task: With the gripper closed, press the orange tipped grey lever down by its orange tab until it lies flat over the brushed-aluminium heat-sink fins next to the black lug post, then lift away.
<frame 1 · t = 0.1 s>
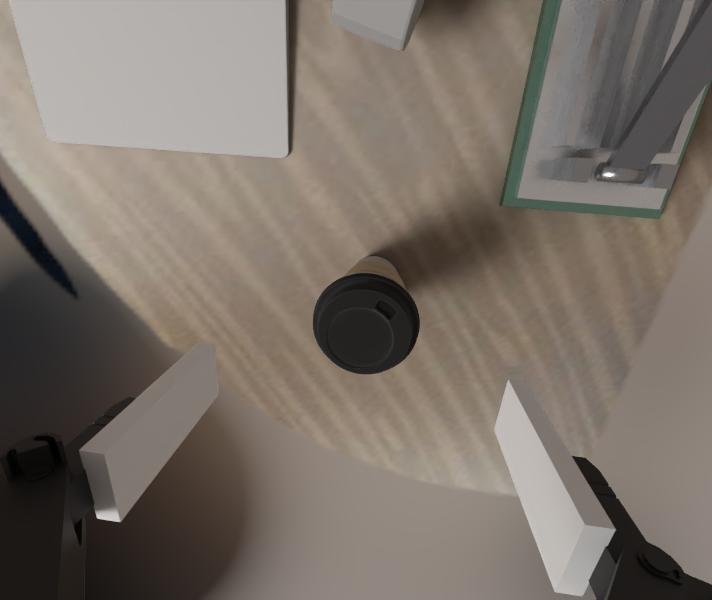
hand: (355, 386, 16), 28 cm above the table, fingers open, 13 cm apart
orange tipped grey lever: (697, 57, 24), point 11 cm above the table, hinge at 30.0°
heatsink: (615, 71, 33), on the table
coffee cup: (373, 279, 44), on the table
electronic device: (158, 48, 37), on the table
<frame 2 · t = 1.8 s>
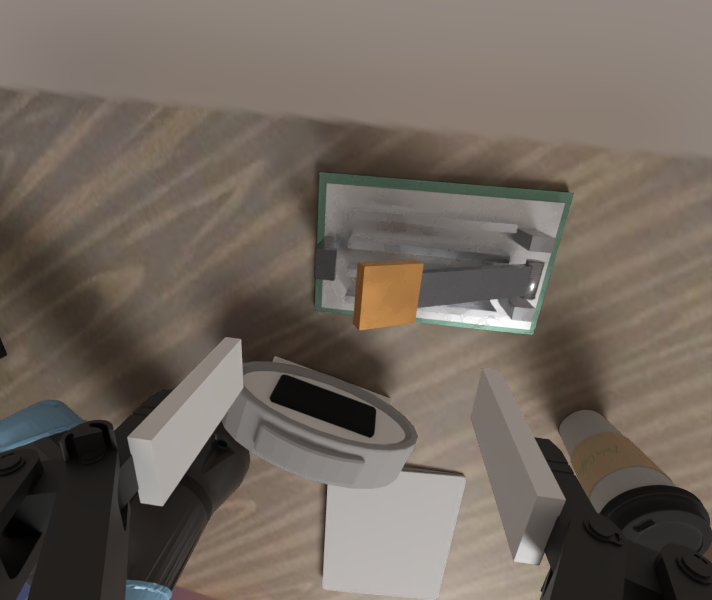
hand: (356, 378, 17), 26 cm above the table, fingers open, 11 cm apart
orange tipped grey lever: (458, 286, 30), point 11 cm above the table, hinge at 30.0°
heatsink: (430, 255, 40), on the table
coffee cup: (582, 427, 47), on the table
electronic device: (387, 528, 58), on the table
alarm clock: (328, 388, 49), on the table
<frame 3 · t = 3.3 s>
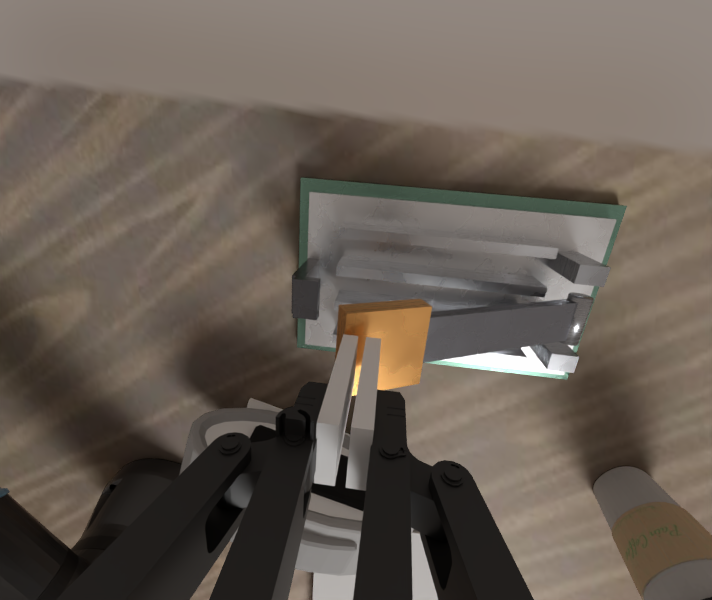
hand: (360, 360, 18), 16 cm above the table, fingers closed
orange tipped grey lever: (479, 331, 23), point 10 cm above the table, hinge at 27.7°, touching gripper
heatsink: (440, 281, 32), on the table
coffee cup: (621, 485, 39), on the table
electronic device: (385, 591, 50), on the table
alarm clock: (315, 436, 40), on the table
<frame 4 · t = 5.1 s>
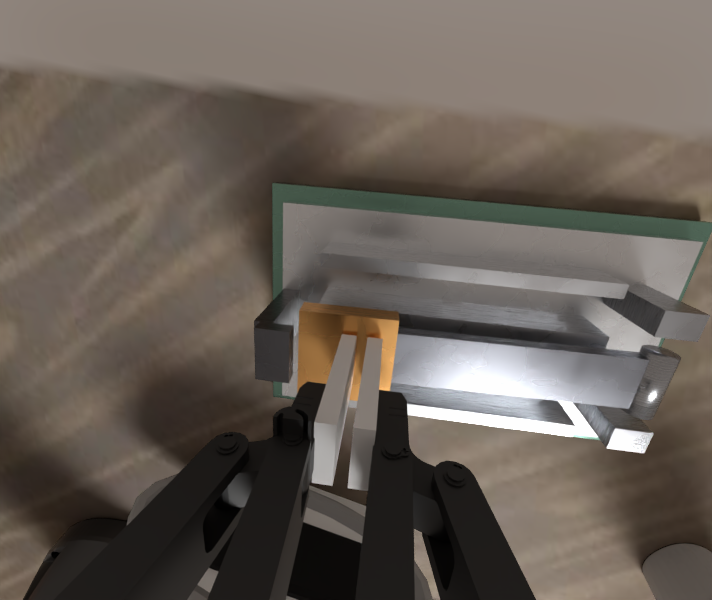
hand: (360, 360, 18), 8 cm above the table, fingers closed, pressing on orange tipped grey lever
orange tipped grey lever: (479, 365, 19), point 6 cm above the table, hinge at 1.8°, touching gripper
heatsink: (457, 317, 25), on the table
coffee cup: (678, 564, 31), on the table
alarm clock: (299, 497, 33), on the table
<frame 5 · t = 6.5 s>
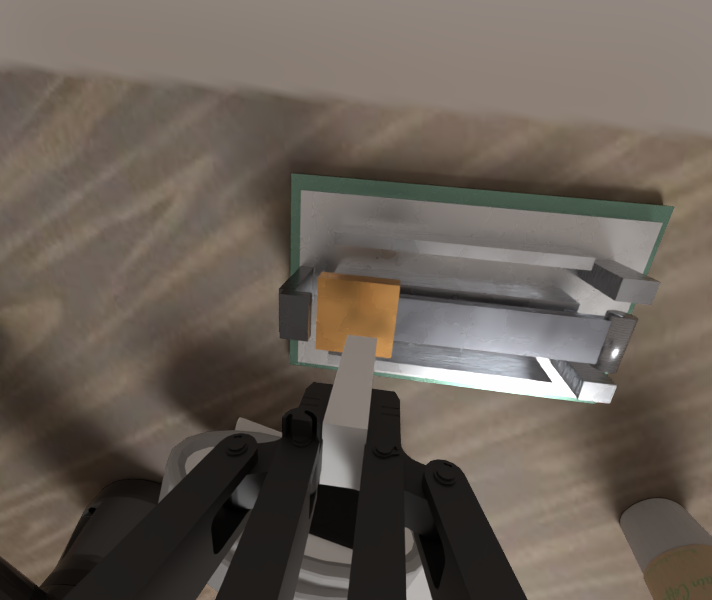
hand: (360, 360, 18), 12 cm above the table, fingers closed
orange tipped grey lever: (468, 325, 23), point 6 cm above the table, hinge at 0.6°
heatsink: (452, 292, 28), on the table
coffee cup: (652, 518, 34), on the table
alarm clock: (311, 458, 37), on the table
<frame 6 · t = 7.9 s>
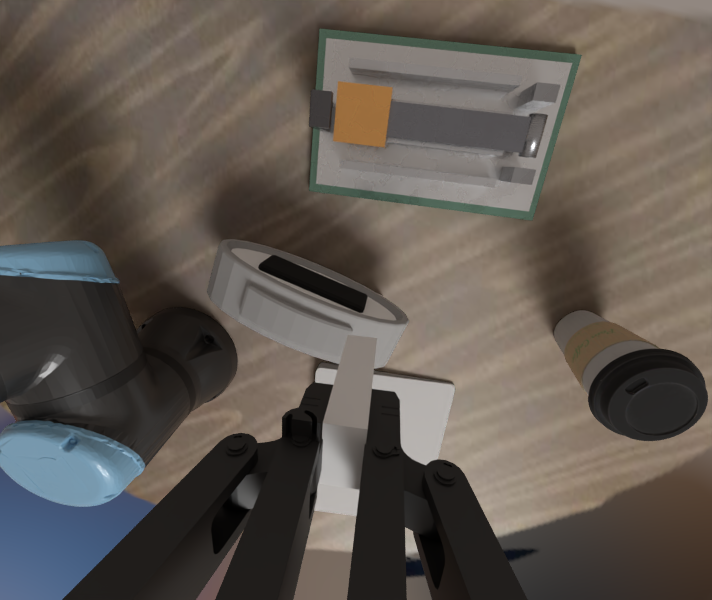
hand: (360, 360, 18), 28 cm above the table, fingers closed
orange tipped grey lever: (437, 125, 33), point 6 cm above the table, hinge at 0.6°
heatsink: (430, 130, 39), on the table
coffee cup: (578, 331, 45), on the table
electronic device: (374, 445, 57), on the table
alarm clock: (320, 284, 47), on the table
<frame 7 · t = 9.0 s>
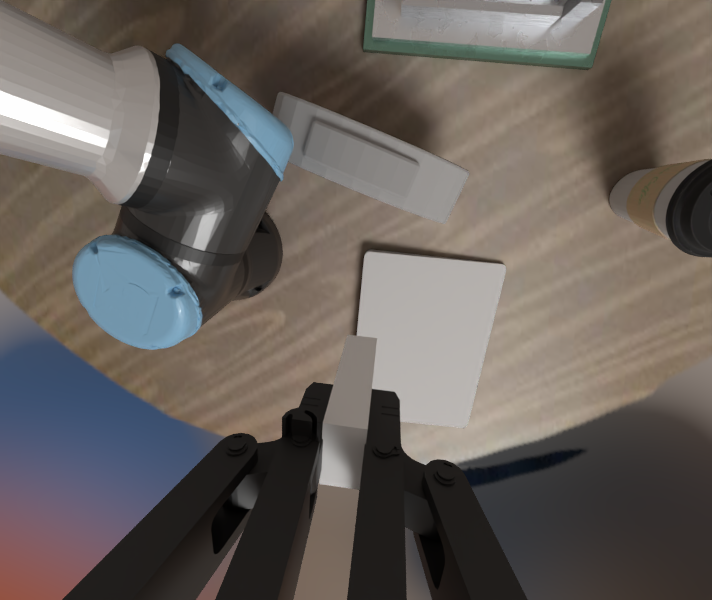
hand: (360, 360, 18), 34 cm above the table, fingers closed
coffee cup: (633, 195, 45), on the table
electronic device: (419, 343, 56), on the table
alarm clock: (369, 160, 47), on the table
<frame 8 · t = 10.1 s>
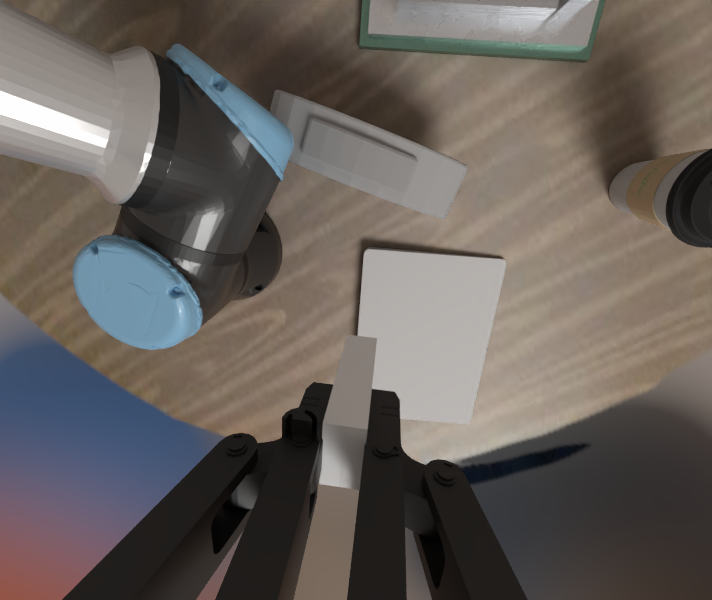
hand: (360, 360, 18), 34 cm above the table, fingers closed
coffee cup: (633, 188, 45), on the table
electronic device: (421, 339, 56), on the table
alarm clock: (367, 157, 47), on the table
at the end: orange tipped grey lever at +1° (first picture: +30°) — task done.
